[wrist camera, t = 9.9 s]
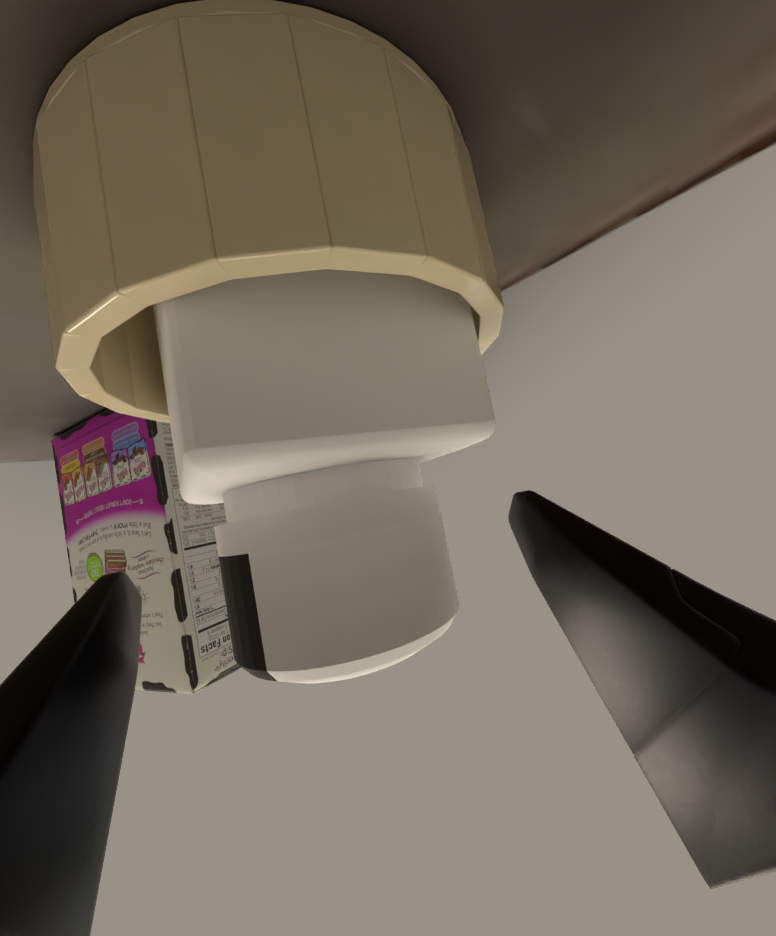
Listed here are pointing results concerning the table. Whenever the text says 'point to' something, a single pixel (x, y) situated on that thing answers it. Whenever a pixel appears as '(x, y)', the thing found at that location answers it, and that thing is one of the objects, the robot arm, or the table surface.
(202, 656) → the candy bar box
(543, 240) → the table surface
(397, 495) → the medicine bottle
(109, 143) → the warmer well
